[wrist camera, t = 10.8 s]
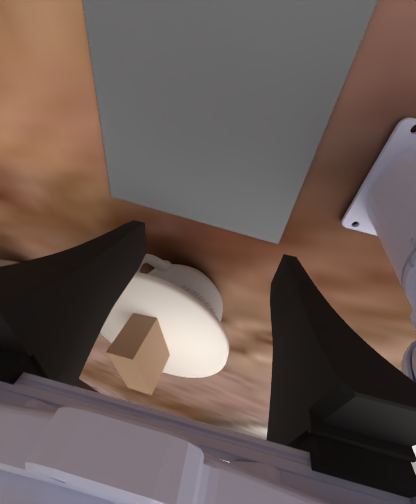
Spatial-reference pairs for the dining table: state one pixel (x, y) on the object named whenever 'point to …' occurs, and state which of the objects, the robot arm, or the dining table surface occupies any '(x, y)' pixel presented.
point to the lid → (162, 334)
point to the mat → (219, 101)
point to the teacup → (187, 282)
